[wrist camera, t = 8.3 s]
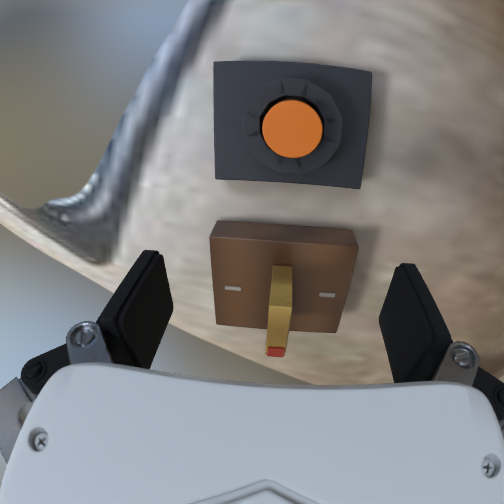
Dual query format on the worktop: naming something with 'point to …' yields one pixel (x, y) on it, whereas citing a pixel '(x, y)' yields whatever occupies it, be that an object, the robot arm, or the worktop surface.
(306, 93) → the doorbell
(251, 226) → the plate
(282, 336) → the lock knob
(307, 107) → the bell button
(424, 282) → the robot arm
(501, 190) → the worktop surface
